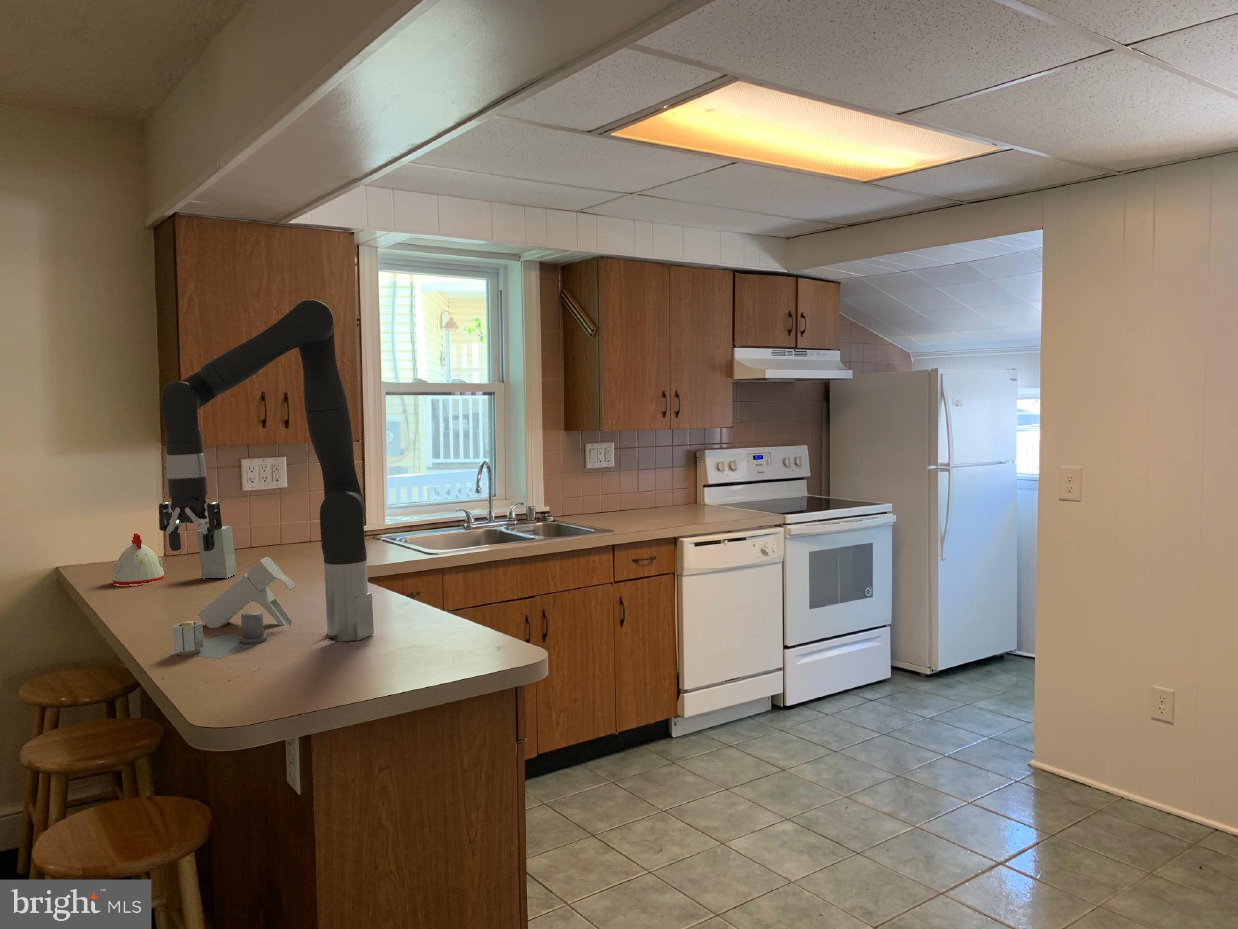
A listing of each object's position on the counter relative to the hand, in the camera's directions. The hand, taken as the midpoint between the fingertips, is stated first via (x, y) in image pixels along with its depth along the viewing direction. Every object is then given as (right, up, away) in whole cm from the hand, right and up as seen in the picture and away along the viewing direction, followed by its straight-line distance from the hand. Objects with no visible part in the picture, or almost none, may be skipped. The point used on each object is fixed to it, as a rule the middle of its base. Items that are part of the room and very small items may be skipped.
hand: (192, 550), depth 195 cm
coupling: (+1, -20, -4) cm, 20 cm away
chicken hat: (-55, -18, +83) cm, 101 cm away
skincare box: (-33, -17, +87) cm, 94 cm away
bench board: (+6, -22, 0) cm, 23 cm away
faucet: (+4, -21, +20) cm, 29 cm away
